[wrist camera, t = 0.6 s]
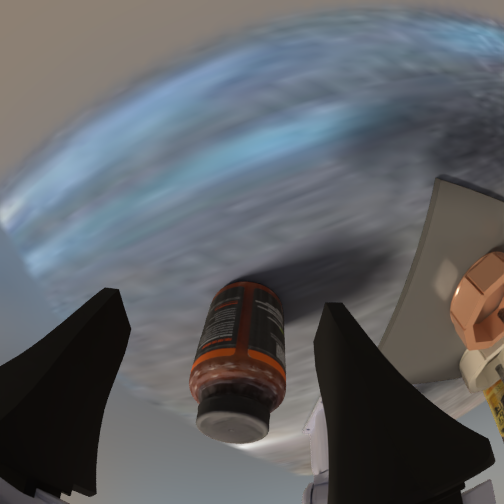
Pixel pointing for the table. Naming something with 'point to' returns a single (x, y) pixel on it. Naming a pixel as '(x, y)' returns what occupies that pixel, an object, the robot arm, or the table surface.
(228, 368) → the supplement bottle
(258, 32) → the table surface
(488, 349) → the cream pot
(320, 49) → the table surface
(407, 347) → the slate board
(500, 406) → the sauce bottle
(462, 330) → the terracotta pot
